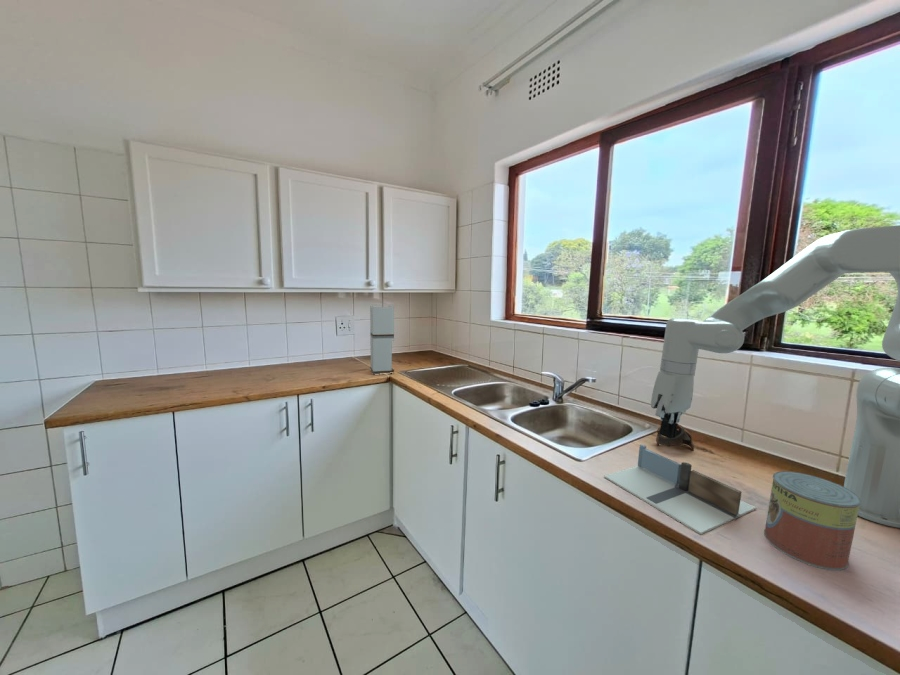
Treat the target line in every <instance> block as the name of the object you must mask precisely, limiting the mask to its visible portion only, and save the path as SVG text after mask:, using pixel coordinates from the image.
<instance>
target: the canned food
mask: <svg viewBox="0 0 900 675" xmlns="http://www.w3.org/2000/svg"><path fill="white" fill-rule="evenodd" d="M772 478H773V479H772V485H771V492H770V497H769V503H768V509H767V516H766V521H765V522H766V523H765V528H764V530H763V535H764V537H765V539H766V540H767V541H768V542H769V544H771V545H772V546H773V547H774V548H775V549H777V550H779V551H780V552H782V553H783V554H785V555H786V556H788V557H791V558H792V559H795V560H796V561H799V562H801V563H804V564H806V565H809V566H812V567H815V568H819V569H822V570H827V571H828V570H830V571H843V570H846V569H847V568H848V567H849V563H850V562H849V560H850V555H851V550H852V545H853V540H854V535H855V529H856V525H857V519H858V517H859V516H858V511H859V506H860V504H861V499H860V498H859V497H858V496H857V495H856V494H855V493H853V492H852V491H850V490H849V489H847V488H845V487H844V485H843V486H842V485H841V484H838V483H836V482H834V481H831V480H828V479H825V478H822V477H819V476H816V475H812V474H808V473H803V472H797V471H789V470H785V471H784V470H783V471H777V472H774V473H773V474H772Z"/></svg>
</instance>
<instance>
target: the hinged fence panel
mask: <svg viewBox="0 0 900 675" xmlns="http://www.w3.org/2000/svg"><path fill="white" fill-rule="evenodd" d="M638 449H639V450H638V459H637V466H639V467H642V468H644V469H646V470H648V471H650V472H652V473H654V474H656V475H658V476H660V477H662V478H664V479H665V480H667V481H669V482H671V483H673V484H675V485H678V484H679V479H680V471H681V463H679V462H677V461H674V460H672V459H670V458H668V457H665V456H664V455H662V454H659V453H657V452H654V451H652V450H650V449H647V446H646V445H644V444H640V445H639V448H638Z"/></svg>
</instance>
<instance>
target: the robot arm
mask: <svg viewBox="0 0 900 675" xmlns="http://www.w3.org/2000/svg"><path fill="white" fill-rule="evenodd" d="M887 272H888V273H889V274H890V276H892V278H893V279H894V280H895V283H896V285H897V296H896V300H895V303H894V307H893V309H892V313H891V315H890V318H889V321H888V324H887V327H886V329H885V333H884V335H883V338H882V342H881V346H882V351H883V352H884V353H885V354H886V355H887V356H888V357H890V358H891V359H894V360H896V361H899V362H900V224H899V225H887V226H873V227H862V228H861V227H860V228H855V229H854V228H853V229H848V230H843V231H839V232H835V233H831V234H828V235H825V236H822V237H821V238H818V239H816V240H815V241H814V242H812V243H811V244H809V245H807V246H806V247H804V249H803V250H801V251H800V252H799V253H797V254H796V255H795V256H793V257H792V258H791V259H789V260H788V261H786V262H785V263H784V264H782V265H781V266H780V267H779V268H777V269H776V270H774V271H773V272H772V273H771V274H769V275H768V276H766V277H765V278H764V279H762V280H761V281H759V282H758V283H756V284H754V285H753V286H752V287H750V288H748V289H747V290H746V291H744V292H743V293H741V294H739V295H737V296H736V297H735V298H733V299H732V300H730V301H728V302H727V303H725V304H724V305H723V306H721V307H720V308H719V309H717V310H716V311H715V312H713V313H712V314H710V315H709V316H708V317H707V318H705V319H704V320H703V321H700V320H697V319H693V318H682V317H680V318H679V317H674V318H670V319H668V320H667V321H666V324H665V331H664V337H663V346H662V354H661V360H660V366H659V371H658V373H657V375H656V377H655V378H656V379H655V382H654V386H653V389H652V395H651V401H650V407H651V408H652V409H656V411H655V413H654V415H655V416H657V417H659V418H660V421H661V423H660V426H661V429H660V434H661V435H662V436H664V437H668V438H670V439H672V438H675V437H676V431H677V430H678V429H677V425H678V424H679V422H680V420H681V416H682V415H683V414H685V413H686V412H687V411H688V410H690V408H691V406H692V402H693V396H694V395H693V394H694V386H695V385H694V384H695V380H694V379H695V375H696V368H697V363H698V356H699V352H700V351H699V350H702V351H706V352H707V351H708V352H712V353H715V354H731V353H734V352H736V351H738V350H739V349H741V347H742V346H743V344H744V343H745V333H744V330H745V329H747V328H748V327H750V326H751V325H754V324H755V323H757V322H759V321H761V320H763V319H766V318H768V317H771V316H776V315H779V314H782V313H785V312H788V311H790V310H792V309H795V308H797V307H798V306H800V305H802V303H804V302H805V301H807V300H808V299H810V298H812V297H813V296H814V295H816V294H817V293H818V292H820V291H821V290H822V289H824V288H826V287H827V286H828V285H830V284H831V283H832V282H834V281H835V280H837V279H839V278H840V277H841V276H843V275H845V274H852V273H853V274H855V273H856V274H857V273H887ZM847 462H848V463H847V468H846V474H845V478H844V483H843V487H845V488H847V489H849V490H850V491H852V492H853V493H855V494H856V495H857V496H858V497H859V498H860V499H861V504H860V506H859V511H858V516H857V517H860V518H862V519H865V520H868V521H871V522H874V523H877V524H881V525H883V526H888V527H893V528H898V529H900V368H899V367H882V368H877V369H874V370H871V371H869V372H868V373H866V374H865V375H863V376H862V377H861V379H860V380H859V382H858V384H857V387H856V420H855V426H854V433H853V436H852V441H851V446H850V452H849V458H848V461H847Z"/></svg>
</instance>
